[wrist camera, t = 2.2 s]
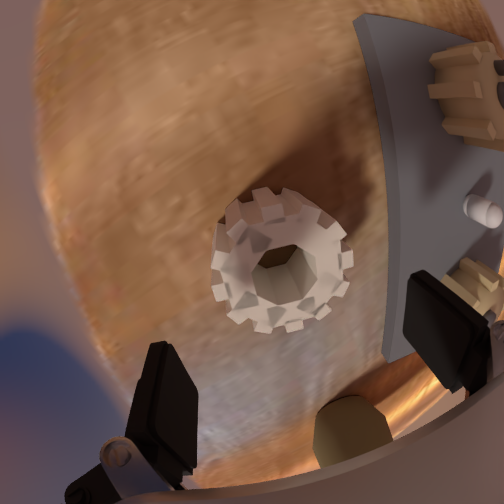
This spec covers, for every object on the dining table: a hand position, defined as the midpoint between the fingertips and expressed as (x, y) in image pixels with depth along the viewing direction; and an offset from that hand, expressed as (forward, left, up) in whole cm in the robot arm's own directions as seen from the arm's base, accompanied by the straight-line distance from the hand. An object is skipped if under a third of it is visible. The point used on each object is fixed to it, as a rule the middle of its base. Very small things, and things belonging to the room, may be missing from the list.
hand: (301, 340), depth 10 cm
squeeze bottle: (+20, +4, -8) cm, 22 cm away
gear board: (-1, +15, -8) cm, 17 cm away
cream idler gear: (-1, 0, -8) cm, 8 cm away
